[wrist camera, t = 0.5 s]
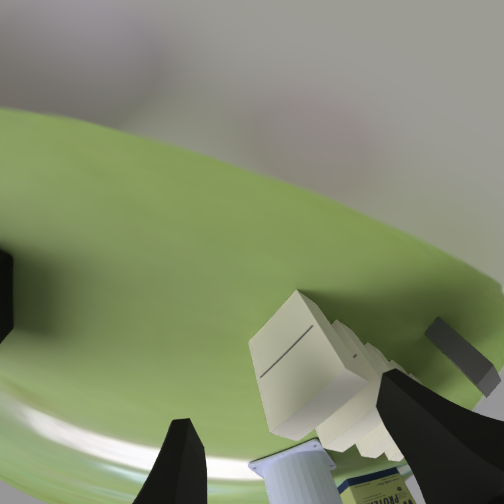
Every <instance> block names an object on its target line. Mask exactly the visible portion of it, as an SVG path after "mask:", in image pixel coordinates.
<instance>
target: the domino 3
mask: <svg viewBox="0 0 504 504" xmlns="http://www.w3.org/2000/svg"><path fill="white" fill-rule="evenodd" d="M364 346H365V348H366V349H367V350H368V352H369V353H370V354H371V356H372V357H373V358H374V360H375V361H376V362H377V364H378V365H379V366H380V368H381V369H382V370H383V372H387V371H389V370H392V369H394V368H393V366H392V365H391V364H390V363H389V361H388V360H387V359H386V358H385V356H384V355H383V354H382V353H381V351H380V350H378V349H377V348H376V347H374V346H373V345H371V344H370V343H369V342H367V343H366V344H365V345H364ZM355 444H356V446H357V448H358V450H359V452H360V454H361V456H364V457H370V458H377V457H378V456H379V455H381V454H382V453H383V452H385V451H386V450H387V449H389V448H390V447H391V446H393V445H394V444H395V442H394V441H393V439H392V437H391V436H390V434H389V433H388V431H387V429H386V428H385V426H384V424H383V422H382V423H380V424H379V425H378V426H377V427H375V428H374V429H373V430H372V431H371V432H369V433H368V434H367V435H365V436H364V437H363V438H362V439H360V440H359V441H358V442H356V443H355Z"/></svg>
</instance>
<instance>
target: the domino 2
mask: <svg viewBox="0 0 504 504" xmlns="http://www.w3.org/2000/svg"><path fill="white" fill-rule="evenodd" d="M331 326H332V327H333V329H334V330H335V332H336V333H337V334H338V336H339V337H340V339H341V340H342V342H343V343H344V345H345V346H346V348H347V349H348V351H349V352H350V354H351V355H352V357H353V358H354V359H355V361H356V362H357V364H358V365H359V367H360V368H361V370H362V371H363V373H364V374H365V376H366V377H367V379H368V380H369V383H368V384H367V385H366V386H364V387H363V388H362V389H361V390H360V391H359V392H358V393H357V394H356V395H355V396H353V397H352V398H351V399H350V400H349V401H348V402H347V403H345V404H344V405H343V406H342V407H341V408H340V409H338V410H337V411H336V412H335V413H334V414H332V415H331V416H330V417H329V418H327V419H326V420H325V421H324V422H322V423H321V424H320V425H319V426H317V427H316V428H315V429H316V432H317V434H318V437H319V439H320V442H321V444H322V447H323V448H325V449H329V450H334V451H338V452H344V451H345V450H347V449H348V448H350V447H351V446H352V445H354V444H355V443H356V442H358V441H359V440H360V439H362V438H363V437H364V436H365V435H367V434H368V433H369V432H371V431H372V430H373V429H374V428H375V427H377V426H378V425H379V424H380V423H382V420H381V418H380V415H379V413H378V411H377V408H376V402H377V398H378V393H379V388H380V383H381V378H382V373H384V372H383V370H382V369H381V368H380V366H379V365H378V364H377V362H376V361H375V360H374V358H373V357H372V356H371V354H370V353H369V352H368V350H367V349H366V348H365V346H364V345H363V344H362V342H361V341H360V340H359V338H358V337H357V336H356V335H355V333H354V332H353V331H352V330H351V329H350V328H348V327H347V326H346V325H344V324H343V323H341V322H340V321H339V320H337V319H336V320H335V321H334V322H333V323H332V324H331Z"/></svg>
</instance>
